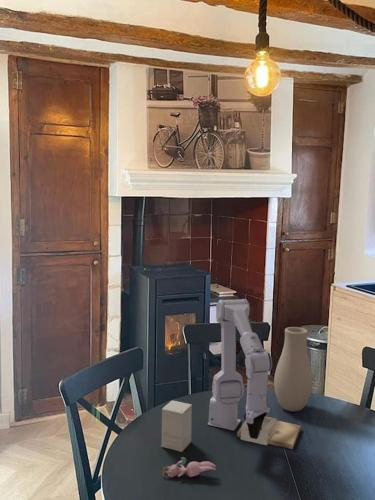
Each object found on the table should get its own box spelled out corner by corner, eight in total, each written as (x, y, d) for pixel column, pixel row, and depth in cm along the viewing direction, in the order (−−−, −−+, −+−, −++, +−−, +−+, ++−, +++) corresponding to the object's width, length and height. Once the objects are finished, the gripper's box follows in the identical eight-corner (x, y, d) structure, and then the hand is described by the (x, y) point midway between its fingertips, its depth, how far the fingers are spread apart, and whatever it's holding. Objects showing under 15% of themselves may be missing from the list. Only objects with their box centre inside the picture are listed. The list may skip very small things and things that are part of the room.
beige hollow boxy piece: (240, 439, 151) (241, 426, 151) (251, 426, 162) (252, 413, 162) (267, 445, 148) (268, 431, 148) (276, 431, 159) (277, 418, 159)
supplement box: (191, 441, 162) (192, 404, 161) (181, 452, 156) (182, 413, 154) (171, 436, 165) (172, 399, 164) (160, 446, 159) (161, 408, 157)
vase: (272, 399, 196) (276, 323, 192) (308, 402, 194) (313, 325, 190) (273, 415, 183) (277, 334, 178) (312, 418, 181) (317, 336, 177)
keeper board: (237, 436, 166) (237, 420, 166) (249, 418, 179) (249, 403, 178) (292, 449, 160) (293, 432, 159) (300, 429, 172) (301, 414, 172)
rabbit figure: (163, 485, 141) (217, 479, 140) (160, 465, 140) (214, 459, 140) (164, 472, 147) (216, 466, 147) (161, 453, 146) (213, 447, 146)
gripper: (264, 404, 140) (261, 450, 142) (276, 385, 153) (273, 428, 155) (239, 399, 143) (237, 445, 145) (253, 381, 156) (251, 423, 158)
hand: (254, 436), depth 150 cm, fingers closed on beige hollow boxy piece, 2 cm apart
